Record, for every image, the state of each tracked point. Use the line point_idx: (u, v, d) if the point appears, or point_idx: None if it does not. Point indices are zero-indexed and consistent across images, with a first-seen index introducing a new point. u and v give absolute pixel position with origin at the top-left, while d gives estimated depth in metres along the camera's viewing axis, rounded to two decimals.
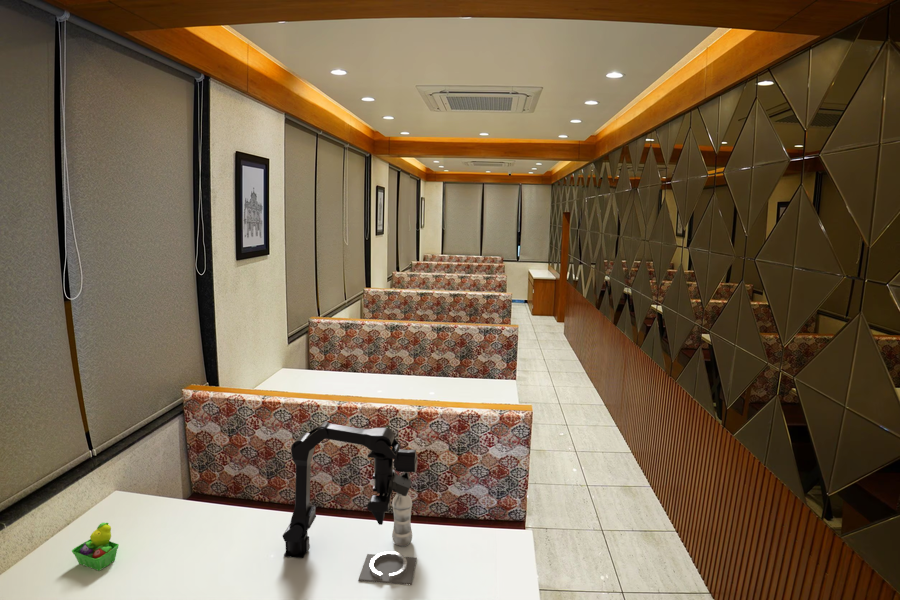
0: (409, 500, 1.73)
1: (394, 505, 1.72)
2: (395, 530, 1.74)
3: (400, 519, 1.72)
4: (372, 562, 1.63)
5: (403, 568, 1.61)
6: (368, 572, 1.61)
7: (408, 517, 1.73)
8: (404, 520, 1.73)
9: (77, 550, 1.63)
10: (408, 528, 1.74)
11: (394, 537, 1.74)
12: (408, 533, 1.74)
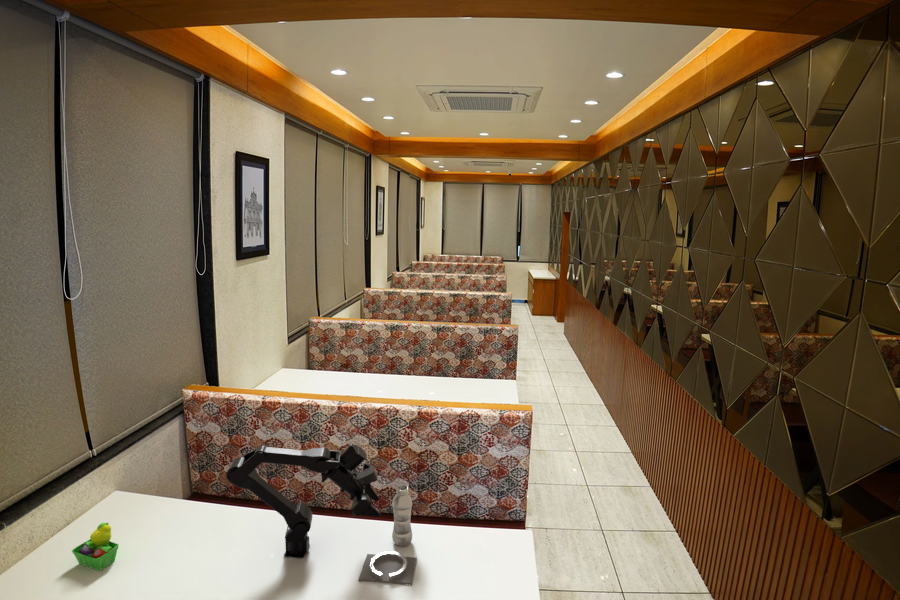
0: (409, 500, 1.73)
1: (394, 505, 1.72)
2: (395, 530, 1.74)
3: (400, 519, 1.72)
4: (372, 562, 1.63)
5: (403, 568, 1.61)
6: (368, 572, 1.61)
7: (408, 517, 1.73)
8: (404, 520, 1.73)
9: (77, 550, 1.63)
10: (408, 528, 1.74)
11: (394, 537, 1.74)
12: (408, 533, 1.74)
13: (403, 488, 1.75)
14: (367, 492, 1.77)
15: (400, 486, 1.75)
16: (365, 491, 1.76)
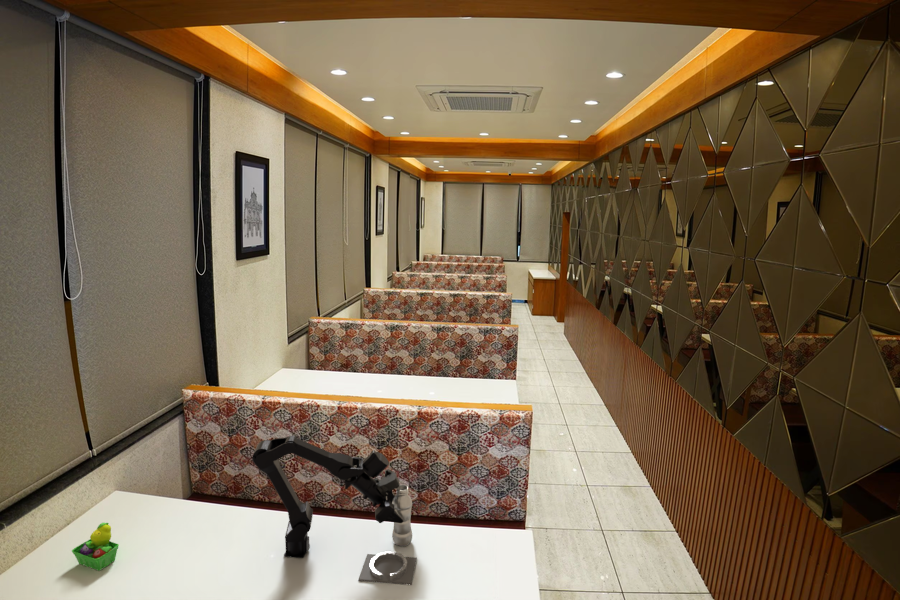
0: (409, 500, 1.73)
1: (394, 505, 1.72)
2: (395, 530, 1.74)
3: None
4: (372, 562, 1.63)
5: (403, 568, 1.61)
6: (368, 572, 1.61)
7: (408, 517, 1.73)
8: (404, 520, 1.73)
9: (77, 550, 1.63)
10: (408, 528, 1.74)
11: (394, 537, 1.74)
12: (408, 533, 1.74)
13: (403, 488, 1.75)
14: (389, 498, 1.78)
15: (400, 486, 1.75)
16: (387, 497, 1.78)
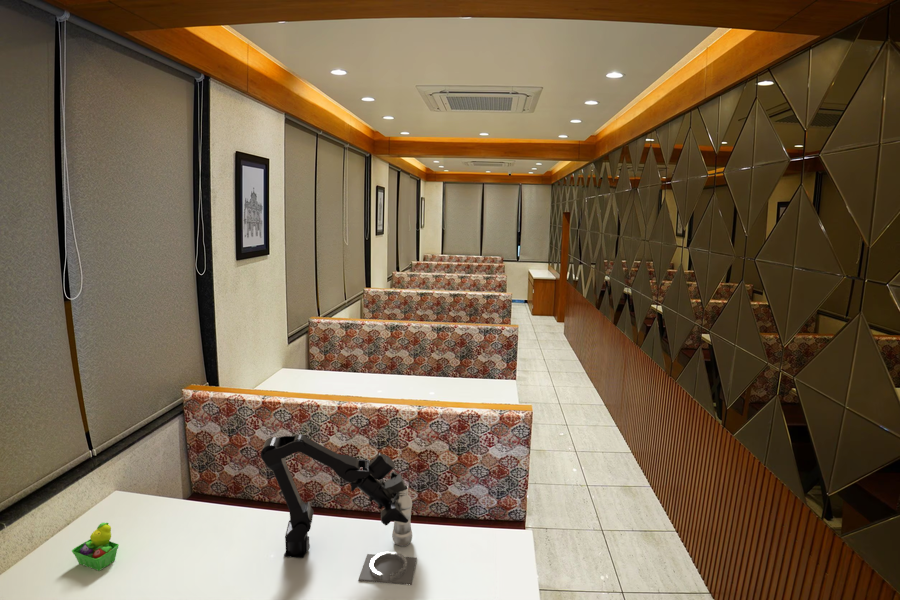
0: (409, 500, 1.73)
1: None
2: (395, 530, 1.74)
3: None
4: (372, 562, 1.63)
5: (403, 568, 1.61)
6: (368, 572, 1.61)
7: (408, 517, 1.73)
8: None
9: (77, 550, 1.63)
10: (408, 528, 1.74)
11: (394, 537, 1.74)
12: (408, 533, 1.74)
13: None
14: None
15: None
16: None
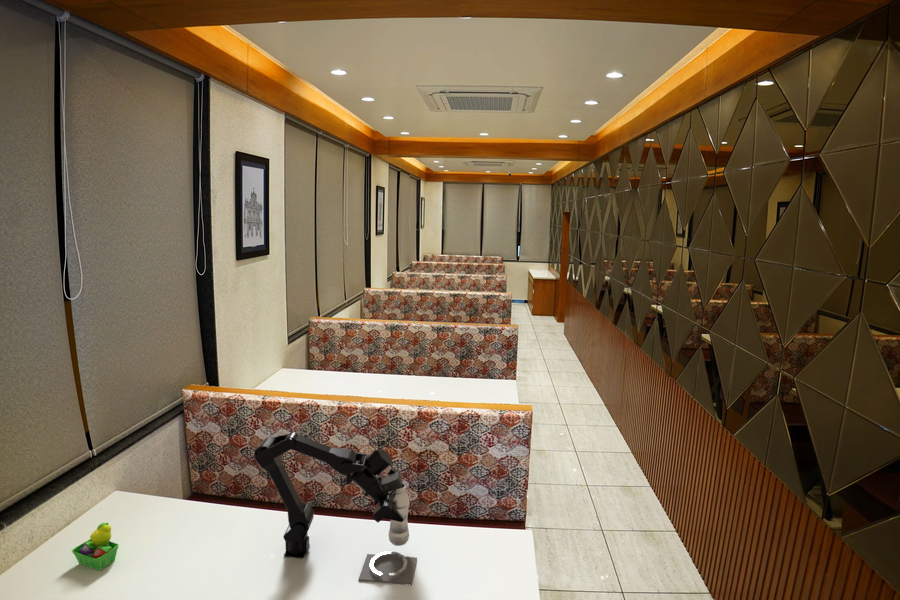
0: (406, 499, 1.67)
1: None
2: (391, 528, 1.69)
3: None
4: (372, 562, 1.63)
5: (403, 568, 1.61)
6: (368, 572, 1.61)
7: (404, 516, 1.67)
8: None
9: (77, 550, 1.63)
10: (404, 528, 1.68)
11: (390, 536, 1.69)
12: (403, 533, 1.68)
13: None
14: None
15: None
16: None
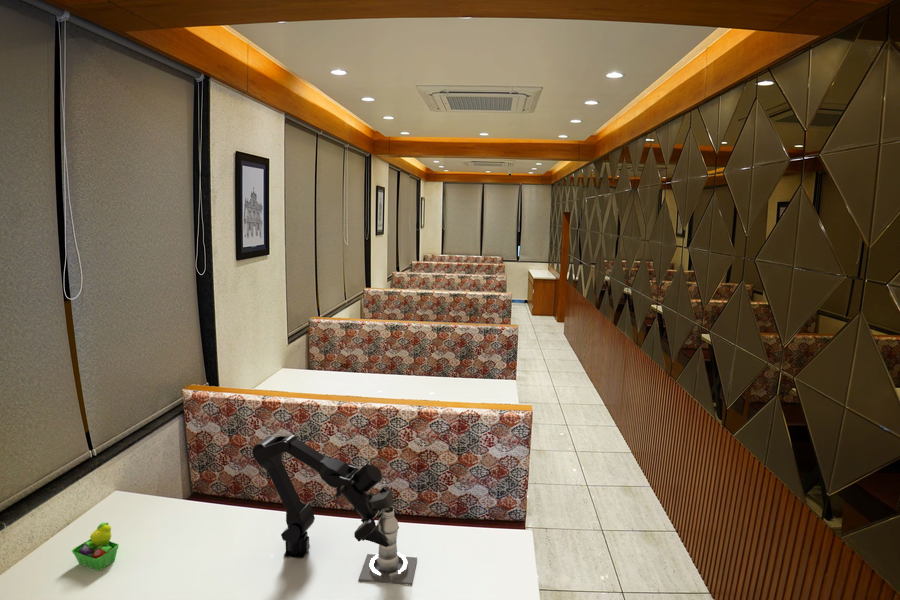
0: (392, 525, 1.58)
1: None
2: None
3: None
4: (372, 562, 1.63)
5: (403, 568, 1.61)
6: (368, 572, 1.61)
7: (391, 543, 1.59)
8: None
9: (77, 550, 1.63)
10: (391, 554, 1.60)
11: (377, 559, 1.62)
12: (390, 559, 1.60)
13: (391, 510, 1.61)
14: None
15: (388, 507, 1.61)
16: None
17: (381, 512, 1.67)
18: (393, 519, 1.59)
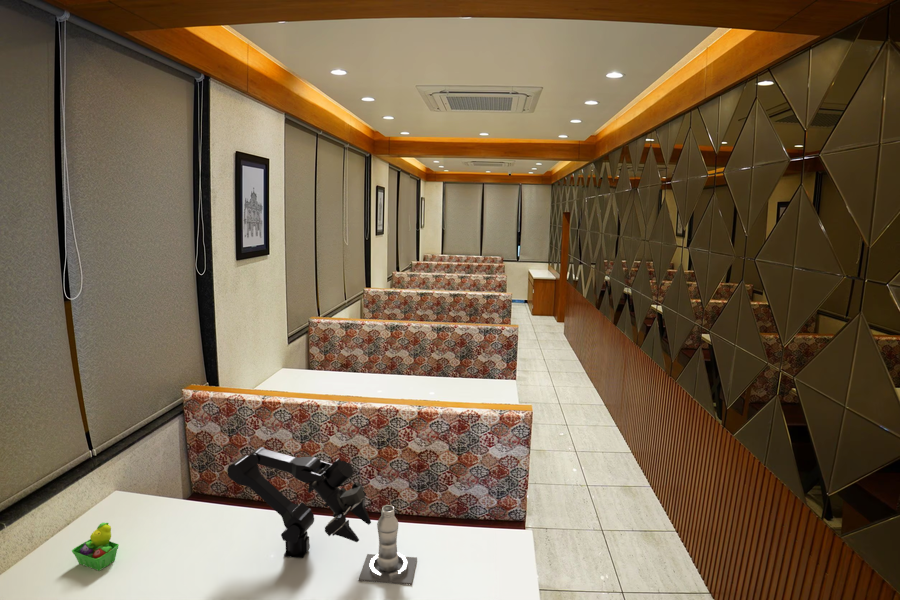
0: (393, 524, 1.59)
1: (377, 525, 1.60)
2: None
3: (382, 542, 1.60)
4: (372, 562, 1.63)
5: (403, 568, 1.61)
6: (368, 572, 1.61)
7: (391, 542, 1.59)
8: (386, 544, 1.59)
9: (77, 550, 1.63)
10: (391, 554, 1.60)
11: (377, 559, 1.62)
12: (390, 559, 1.60)
13: (391, 509, 1.62)
14: (359, 512, 1.68)
15: (388, 506, 1.62)
16: (357, 511, 1.69)
17: (354, 507, 1.69)
18: (393, 518, 1.60)
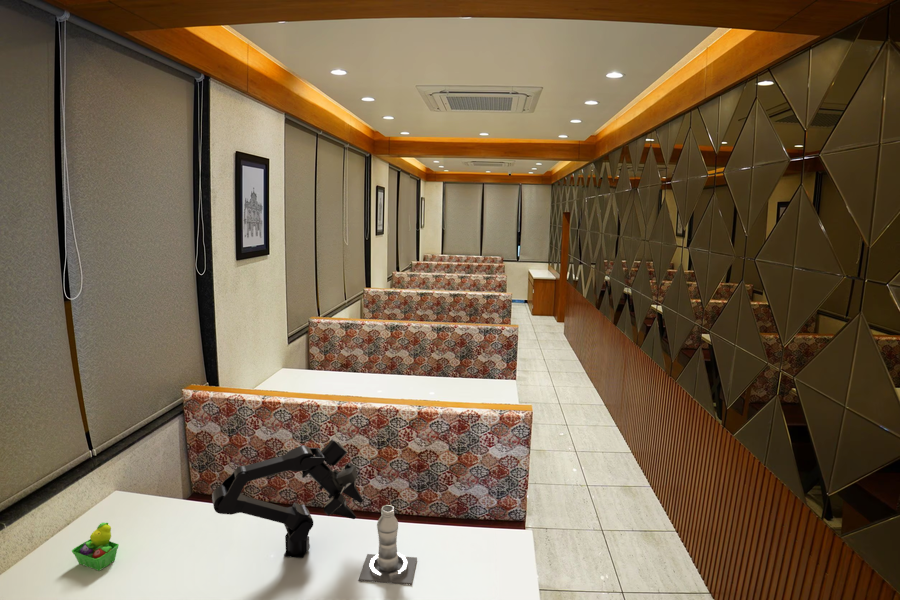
0: (392, 524, 1.59)
1: (377, 525, 1.60)
2: None
3: (382, 542, 1.60)
4: (372, 562, 1.63)
5: (403, 568, 1.61)
6: (368, 572, 1.61)
7: (391, 542, 1.59)
8: (386, 544, 1.59)
9: (77, 550, 1.63)
10: (391, 554, 1.60)
11: (377, 559, 1.62)
12: (390, 559, 1.60)
13: (391, 509, 1.62)
14: (351, 492, 1.76)
15: (388, 506, 1.62)
16: (349, 491, 1.76)
17: (345, 488, 1.76)
18: (393, 518, 1.60)
